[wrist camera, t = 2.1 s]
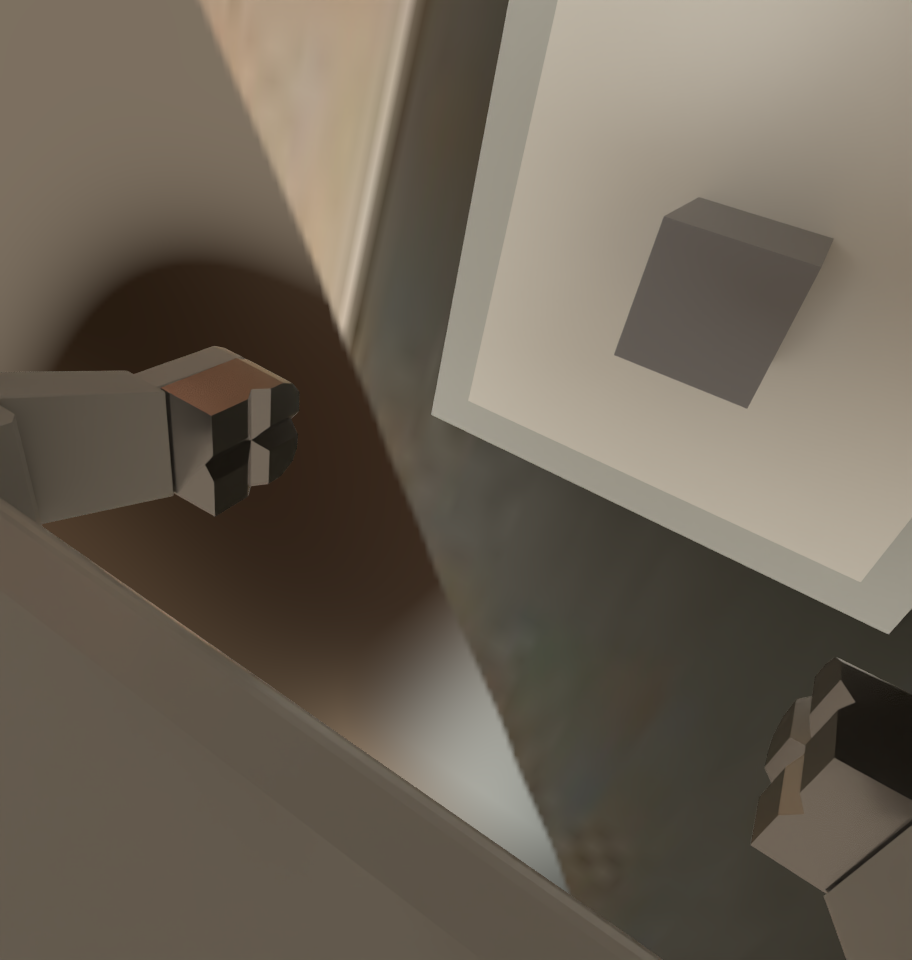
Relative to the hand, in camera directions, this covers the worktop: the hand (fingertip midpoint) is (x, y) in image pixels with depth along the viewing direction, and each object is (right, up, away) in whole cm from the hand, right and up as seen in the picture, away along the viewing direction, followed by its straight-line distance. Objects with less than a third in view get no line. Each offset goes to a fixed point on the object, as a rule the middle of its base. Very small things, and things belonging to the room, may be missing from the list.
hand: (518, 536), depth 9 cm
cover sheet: (+8, +7, +12) cm, 16 cm away
